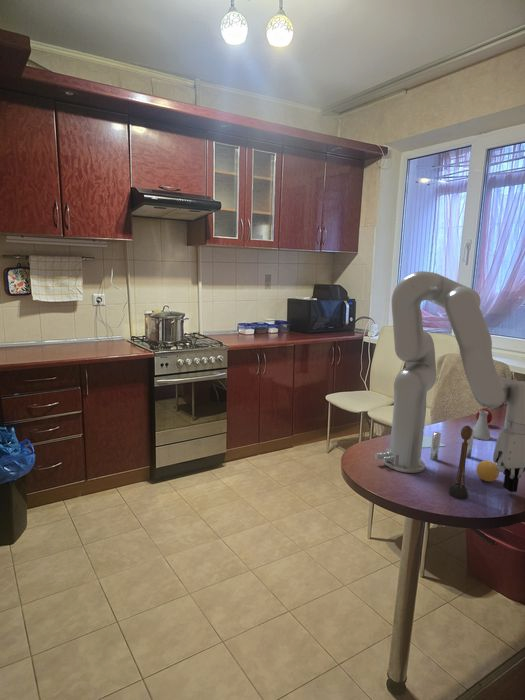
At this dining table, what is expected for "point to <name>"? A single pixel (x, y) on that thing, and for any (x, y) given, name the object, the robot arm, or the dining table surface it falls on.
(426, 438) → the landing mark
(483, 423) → the flask
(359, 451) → the dining table surface
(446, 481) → the dining table surface
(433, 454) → the left post
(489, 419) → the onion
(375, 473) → the dining table surface
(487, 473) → the ball
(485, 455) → the dining table surface
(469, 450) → the right post
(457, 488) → the wooden tabletop sculpture
